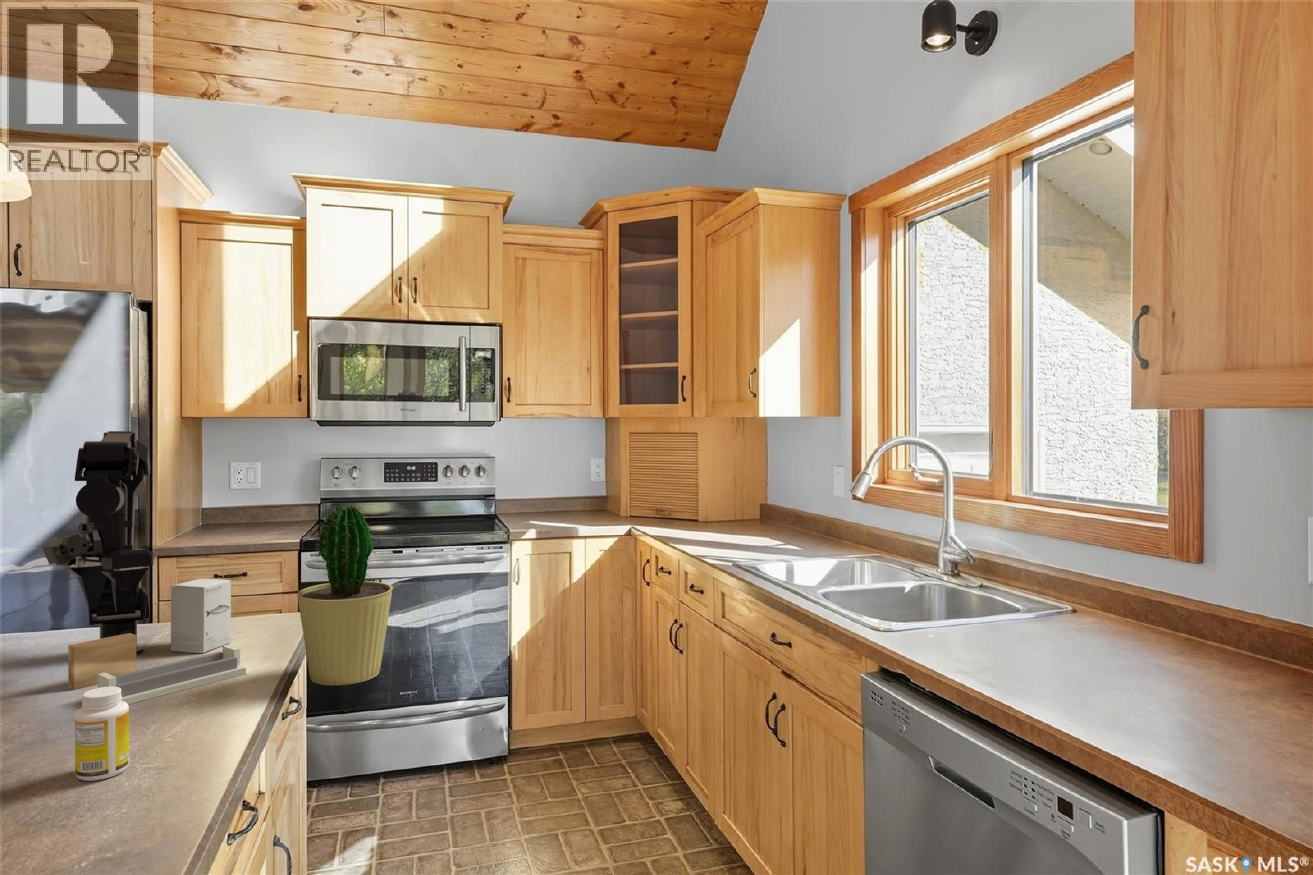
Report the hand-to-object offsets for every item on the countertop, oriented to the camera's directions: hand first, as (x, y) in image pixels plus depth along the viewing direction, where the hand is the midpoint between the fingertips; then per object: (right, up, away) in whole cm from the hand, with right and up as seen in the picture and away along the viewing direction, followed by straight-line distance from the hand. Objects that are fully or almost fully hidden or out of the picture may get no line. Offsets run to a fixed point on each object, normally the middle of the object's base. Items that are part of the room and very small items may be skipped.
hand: (105, 609), depth 130 cm
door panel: (-1, -12, 0) cm, 12 cm away
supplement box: (+4, -12, +20) cm, 24 cm away
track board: (+12, -12, -1) cm, 17 cm away
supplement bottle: (+23, -13, -33) cm, 42 cm away
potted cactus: (+38, -13, +6) cm, 40 cm away
